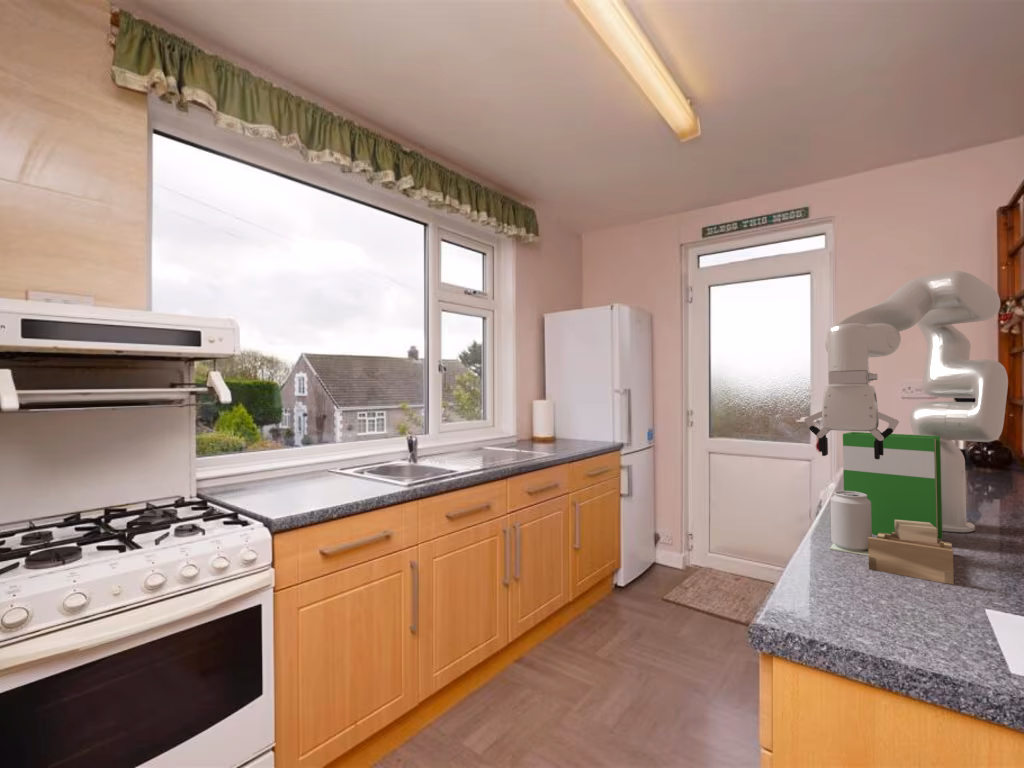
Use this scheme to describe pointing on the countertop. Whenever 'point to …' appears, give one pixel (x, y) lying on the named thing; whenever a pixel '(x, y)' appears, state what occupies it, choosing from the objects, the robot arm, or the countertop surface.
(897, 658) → the countertop surface
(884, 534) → the frame
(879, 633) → the countertop surface
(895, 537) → the offcut large
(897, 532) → the offcut small
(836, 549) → the mat
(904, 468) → the hardback book
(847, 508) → the can
